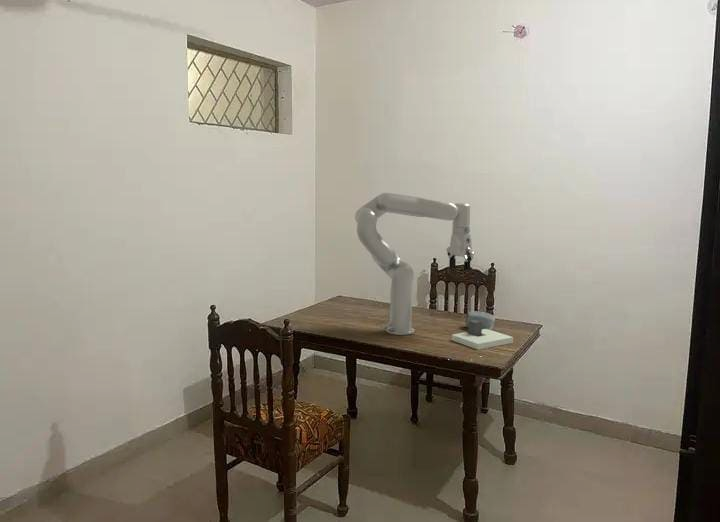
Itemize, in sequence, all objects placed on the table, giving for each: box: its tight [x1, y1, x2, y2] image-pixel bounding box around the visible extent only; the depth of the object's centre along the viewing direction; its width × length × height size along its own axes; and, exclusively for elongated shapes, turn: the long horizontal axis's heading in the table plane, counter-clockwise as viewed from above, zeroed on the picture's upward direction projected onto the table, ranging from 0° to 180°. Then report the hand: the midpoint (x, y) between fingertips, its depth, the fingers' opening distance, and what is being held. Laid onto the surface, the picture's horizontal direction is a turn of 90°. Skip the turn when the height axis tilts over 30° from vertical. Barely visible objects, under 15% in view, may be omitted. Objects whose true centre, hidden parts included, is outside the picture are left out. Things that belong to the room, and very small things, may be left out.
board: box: [451, 329, 514, 350], centre depth 235 cm, size 20×16×2 cm
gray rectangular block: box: [467, 320, 482, 337], centre depth 238 cm, size 4×4×8 cm
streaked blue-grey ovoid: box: [465, 310, 496, 330], centre depth 255 cm, size 14×10×10 cm
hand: (459, 268), depth 250 cm, fingers open, 9 cm apart
